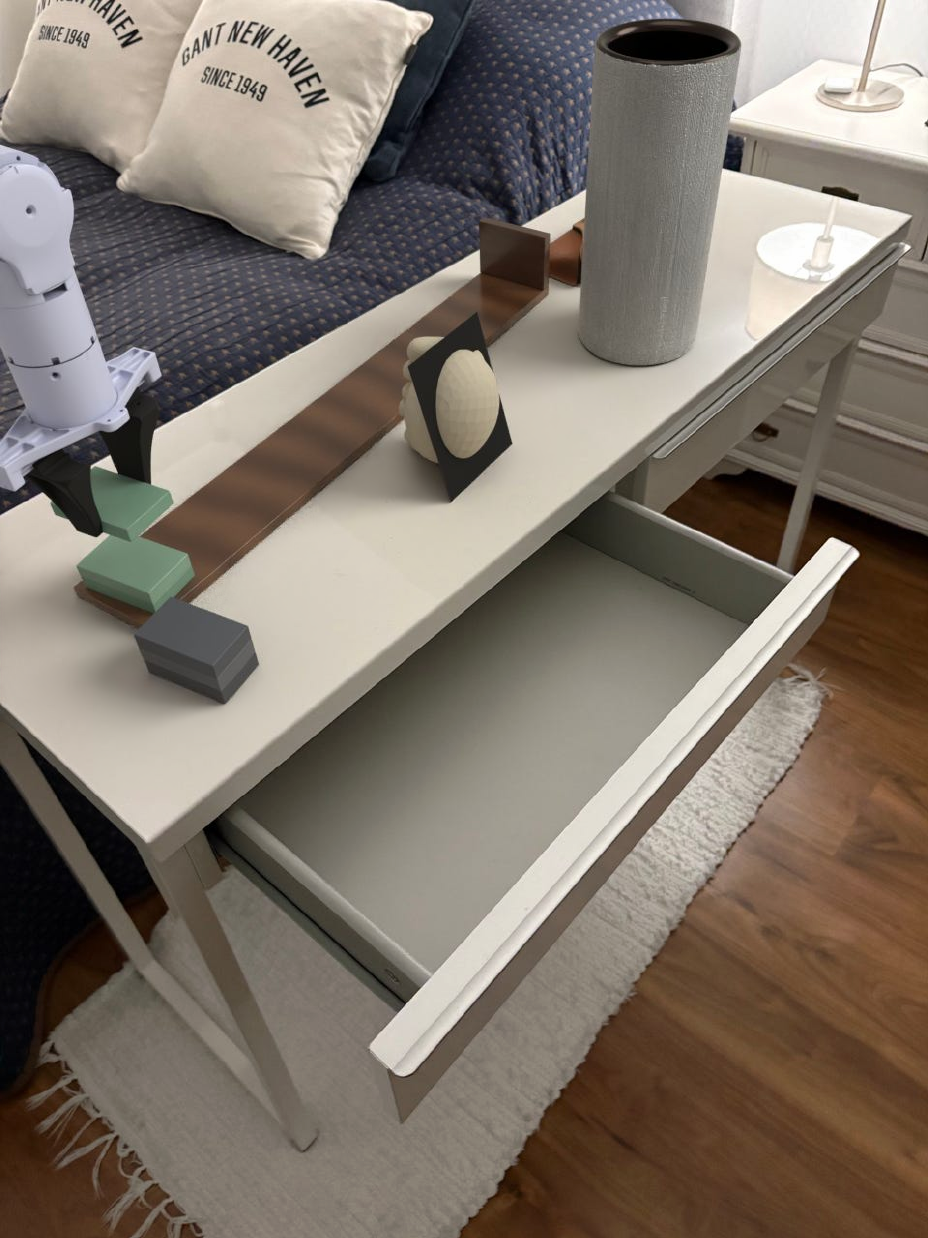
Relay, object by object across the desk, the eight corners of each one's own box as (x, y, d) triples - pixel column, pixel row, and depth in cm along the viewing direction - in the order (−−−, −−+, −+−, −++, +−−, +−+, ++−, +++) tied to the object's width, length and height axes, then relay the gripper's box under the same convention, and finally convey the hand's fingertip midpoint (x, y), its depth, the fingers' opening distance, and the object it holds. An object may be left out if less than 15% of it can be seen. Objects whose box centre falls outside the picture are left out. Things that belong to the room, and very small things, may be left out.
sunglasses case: (605, 208, 121) (633, 168, 116) (644, 248, 121) (674, 209, 116) (522, 265, 112) (548, 223, 106) (564, 308, 112) (593, 269, 106)
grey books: (225, 704, 69) (212, 666, 66) (148, 672, 71) (132, 634, 68) (259, 664, 71) (248, 625, 68) (184, 634, 74) (170, 596, 71)
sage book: (131, 543, 68) (126, 530, 67) (54, 515, 70) (49, 502, 70) (174, 503, 71) (170, 490, 70) (99, 477, 73) (94, 465, 72)
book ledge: (151, 636, 74) (124, 570, 69) (76, 596, 77) (46, 529, 72) (548, 294, 108) (550, 233, 103) (485, 276, 111) (484, 216, 106)
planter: (718, 331, 101) (770, 33, 81) (651, 381, 95) (689, 72, 75) (622, 295, 107) (649, 9, 87) (554, 340, 101) (565, 44, 81)
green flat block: (156, 615, 74) (148, 593, 72) (85, 587, 76) (75, 565, 75) (195, 575, 77) (188, 553, 75) (125, 550, 79) (116, 528, 78)
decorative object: (387, 493, 88) (449, 438, 94) (477, 505, 82) (537, 445, 87) (340, 364, 81) (410, 312, 86) (434, 367, 74) (504, 310, 80)
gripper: (12, 419, 55) (87, 588, 65) (173, 303, 64) (218, 467, 74) (-75, 391, 57) (11, 558, 67) (92, 282, 66) (146, 444, 76)
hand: (114, 509), depth 71 cm, fingers closed on sage book, 5 cm apart
